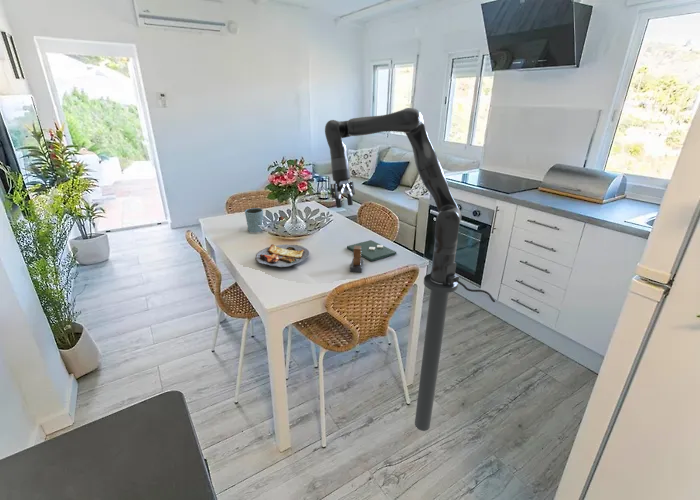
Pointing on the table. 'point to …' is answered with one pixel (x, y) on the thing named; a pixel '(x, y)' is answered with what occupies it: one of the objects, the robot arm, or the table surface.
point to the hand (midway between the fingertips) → (345, 206)
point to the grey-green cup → (254, 219)
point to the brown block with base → (357, 261)
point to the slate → (372, 254)
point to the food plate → (282, 255)
